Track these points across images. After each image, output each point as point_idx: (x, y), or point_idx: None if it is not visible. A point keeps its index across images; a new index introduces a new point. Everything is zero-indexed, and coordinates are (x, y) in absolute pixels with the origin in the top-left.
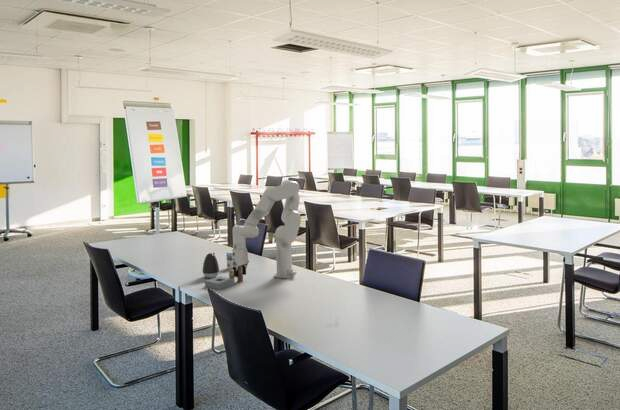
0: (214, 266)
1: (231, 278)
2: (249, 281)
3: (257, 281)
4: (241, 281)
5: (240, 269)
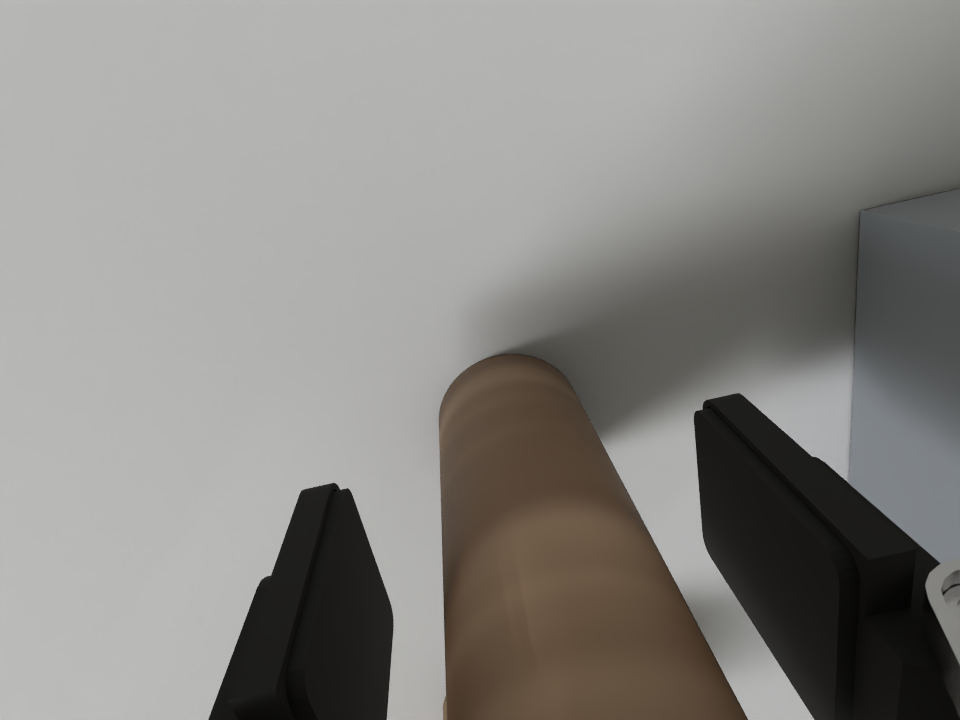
0: None
1: None
2: (327, 225)
3: (102, 23)
4: (521, 356)
5: (664, 642)
